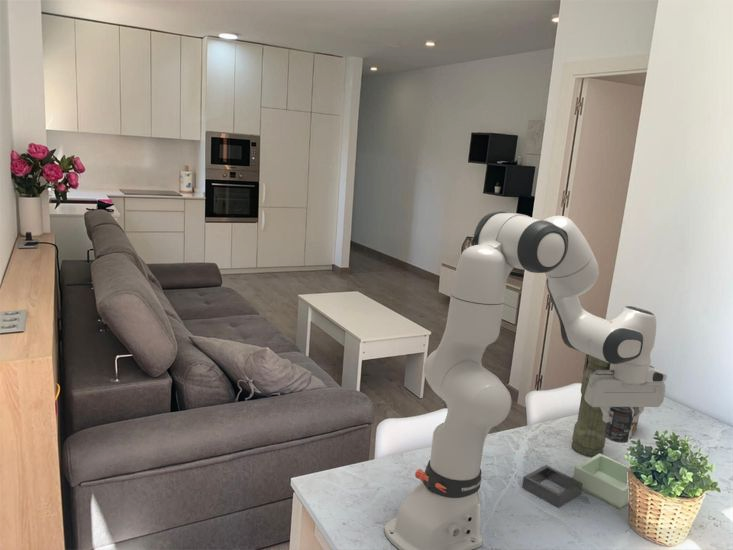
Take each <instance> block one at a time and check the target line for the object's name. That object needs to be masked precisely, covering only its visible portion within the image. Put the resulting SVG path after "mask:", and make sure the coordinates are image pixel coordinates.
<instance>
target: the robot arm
mask: <svg viewBox="0 0 733 550" xmlns="http://www.w3.org/2000/svg"><path fill="white" fill-rule="evenodd" d="M459 256H460V257H459V260H458V263H457V266H456V268H455V272H454V276H453V281H452V285H451V286H452V287H451V292H450V299H449V305H448V311H447V312H448V313H447V319H446V324H445V329H444V332H443V335H442V337H441V340H440V343H439V345H438V346H437V349H434V351H432V352H431V353H430V354H429V355H428V356H427V357H426V359H425V362H424V364H423V374H424V377H425V379H426V381H427V383H428V385H429V387H430V388H431V390H432V391H433V392H434V393H435V394H436V395H437V396H438V397H439V398H440V399H442V401H444V402H445V404H446V408H447V409H446V410H447V413H446V416H445V419H444V422H442V423H440V424H439V425H437V426H436V427H434V428H435V429H434V430H433V433H432V442H431V450H430V459H429V461H428V462H427V465H426V466H425V470H424V471H423V469H420V468H417V470H416V471H415V474H414V477H415V478H416V479H419V480H420V482H419V483H418V484H417V485H416V486H415V488H414V489H413V490H412V491H411V492H410V493H409V495H407V497H406V498H405V499H404V500H403V501H402V503H401V504H399V508H398V510H397V513H396V516H395V517H394V518H392V519H391V520H389V522H387V523H385V525H384V528H383V531H384V534H385V536H386V538H387V539H388V540H389V541H390V542H391V544H392V545H393V546H394V547H395V548H397V550H474V549H478V548H480V547H482V546H483V537H482V535H481V511H482V510H481V503H480V501H481V500H480V497H479V490H480V489H481V484H482V478H483V477H482V468H481V465H482V457H483V452H484V445H485V442H486V439H487V437H488V434H489V432H490V431H491V429H492V428H494V427H496V426H497V427H498V426H499V425H500V424H502V422H504V421H505V419H506V418H507V417H508V415H509V413H510V410H511V407H512V397H511V394H510V391H509V390H508V388H507V387H506V386H505V384H504V383H503V382H502V381H501V379H499V377H498V376H497V375H495V374H494V373H493V372H491V371H490V370H488V369H487V368H485V367H484V366H483V365H482V359H483V355H484V353H485V351H486V349H487V347H488V346H489V345H491V344H493V343H494V342H496V341H497V340H498V338H499V336H500V331H501V327H502V325H501V324H502V319H503V311H504V306H505V305H504V304H505V299H506V290H507V281H508V278H509V276H510V274H511V272H512V270H513V269H514V268H515V269H519V270H524V271H526V272H529V273H534V274H535V273H536V274H543V273H544V274H545V276H546V280H545V281H546V288H547V292H548V294H549V298H550V300H551V303H552V304H553V305H552V306H553V308H554V311H555V312H556V315H557V317H558V322H559V327H560V334H561V339H562V342H563V343H564V344H565V346H566V347H568V348H570V349H572V350H576V351H578V352H582V353H584V354H585V355H586V354H588V355H590V356H593V357H595V358H598V359H600V360H602V361H604V362H607V363H611V364H610V370H596V372H593V373H592V374H591V375H590V378H589V383H588V385H587V389H586V392H585V397H584V399H585V401H586V402H587V403H588V404H589V405H591V406H592V407H600V408H601V411H602V413H603V418H602V420H603V421H604V422H605V423H611V422H612V416H611V415H609V413H608V411H610V407H635V409H634V414H633V420H632V422H637V420H638V421H639V419H638V416H639V417H640V416H641V414H642V413H643V412H644V410H645V408H659V407H660V406H662V404H663V403H664V398H665V393H666V384H665V382H666V380H667V378H668V377H667V374H666V373H665V372H664V371H662V370H660V369H658V368H656V367H655V366H652V365H651V360H652V359H651V352H652V350H653V348H654V347H655V341H656V334H657V333H656V332H657V318H656V315H655V314H654V313H653V312H651V311H649V310H646V309H643V308H638V307H636V306H629V305H626V306H624V307H623V308H622V311H621V312H620V314H619V315H618V316H616V317H615V318H613V319H610V320H608V319H605V318H603V317H600V316H596V315H594V314H592V313H590V312H588V311H587V310H585V309H584V308H583V307H582V305H581V301H580V298H579V296H581V295H583V294H585V293H587V292H588V291H589V290H591V288H593V286H595V284H596V282H597V281H598V278H599V276H600V267H599V263H598V261H597V259H596V256H595V254H594V253H593V250H592V248H591V246H590V245H589V242H588V240H587V239H586V237H585V236H584V234H583V233H582V231H581V230H580V229H579V227H578V226H577V225H576V224H575V223H574V221H573V220H572V219H571V218H569V217H567V216H565V215H554V216H553V215H552V216H549V217H546V218H545V219H537V218H534V217H531V216H529V215H526V214H522V213H514V212H513V213H512V212H507V211H493V212H490V213H487V214H485V215H484V216H483V217H482V218H481V219H480V221H479V222H478V223H477V226H476V227H475V230H474V233H473V237H472V240H471V246H469V247H467V248H465V249H464V250H462V252H461V254H460V255H459ZM595 373H596V374H595Z"/></svg>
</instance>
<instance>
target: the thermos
mask: <svg viewBox="0 0 733 550" xmlns="http://www.w3.org/2000/svg"><path fill="white" fill-rule="evenodd" d="M610 364H611V363H607V362H604V361H602V360H600V359H598V358H595V357H593V356H590V355H588V354H586V353H585V359H584V365H583V371H582V372H583V373H582V380H581V385H580V395H581V396H580V402H579V408H578V415H577V421H576V423H575V424H574V426H573V434H572V443H571V449H572V450H573V451H574V452H576V453H577V454H579V455H581V456H583V457H588V458H592V457H594V456H596V455H598V454H599V453H600V454H602V455H604V454H603V453H604V448H605V446H606V445H605V444H606V440H607V438H606V437H605V436H604V431H605V425H606V423H605V422H604V421H603V420H602V418H603V413H602V411H601V408H600V407H592V406H591V405H589V404H588V403H587V402H586V401H585V399H584V397H585V392H586V389H587V385H588V383H589V378H590V375H591V374H592V373H593V372H596V370H610ZM595 374H596V373H595Z"/></svg>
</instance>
